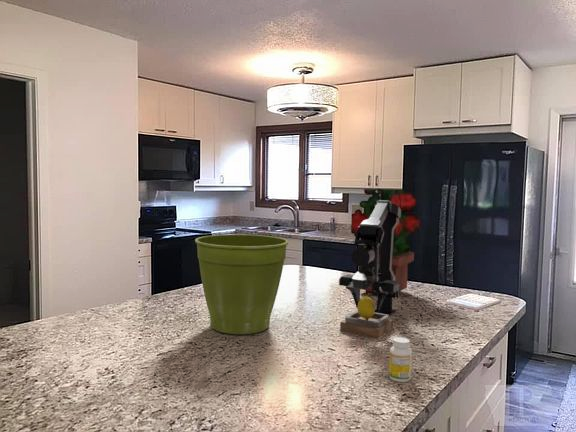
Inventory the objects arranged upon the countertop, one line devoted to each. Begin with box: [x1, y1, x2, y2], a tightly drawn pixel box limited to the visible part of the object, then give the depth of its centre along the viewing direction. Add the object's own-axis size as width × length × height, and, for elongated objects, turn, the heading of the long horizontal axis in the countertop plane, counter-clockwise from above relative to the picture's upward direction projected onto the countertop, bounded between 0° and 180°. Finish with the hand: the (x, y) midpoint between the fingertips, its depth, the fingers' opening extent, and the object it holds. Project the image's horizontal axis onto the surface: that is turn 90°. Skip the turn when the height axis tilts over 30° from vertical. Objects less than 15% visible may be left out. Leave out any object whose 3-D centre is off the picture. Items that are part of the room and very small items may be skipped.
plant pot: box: [194, 234, 289, 335], centre depth 156 cm, size 30×30×29 cm
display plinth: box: [339, 309, 394, 340], centre depth 157 cm, size 13×13×4 cm
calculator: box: [446, 293, 500, 311], centre depth 196 cm, size 13×20×2 cm, turn 132°
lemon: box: [357, 295, 376, 320], centre depth 157 cm, size 6×6×8 cm
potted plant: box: [350, 188, 420, 295], centre depth 208 cm, size 22×22×45 cm
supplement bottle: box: [388, 337, 413, 383], centre depth 118 cm, size 5×5×10 cm
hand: (367, 309), depth 156 cm, fingers open, 7 cm apart
